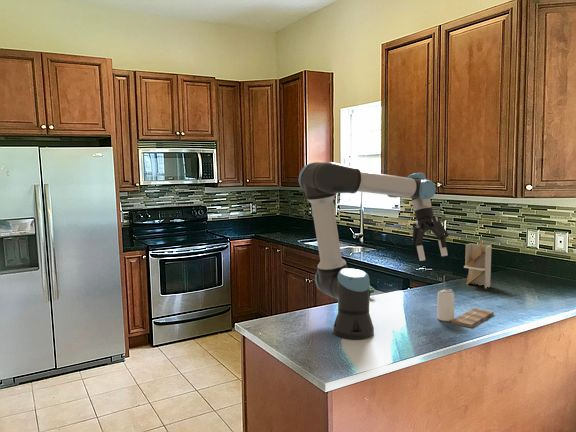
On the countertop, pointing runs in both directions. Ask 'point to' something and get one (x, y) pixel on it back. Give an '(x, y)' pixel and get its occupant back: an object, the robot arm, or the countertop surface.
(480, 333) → the countertop surface
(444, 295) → the can
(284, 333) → the countertop surface
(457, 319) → the walnut board
